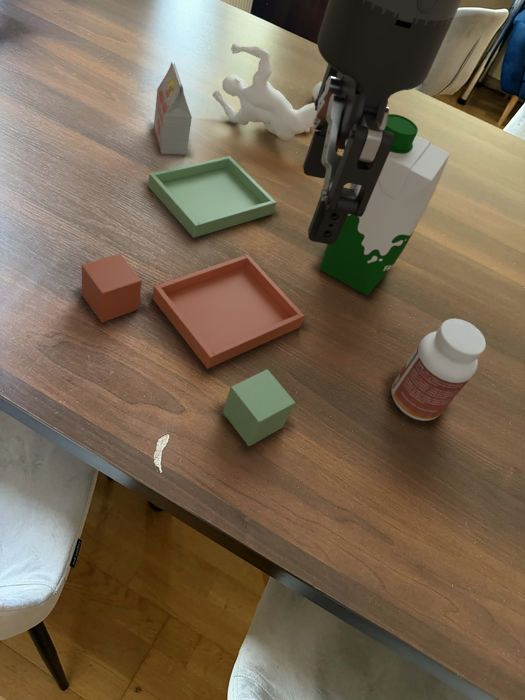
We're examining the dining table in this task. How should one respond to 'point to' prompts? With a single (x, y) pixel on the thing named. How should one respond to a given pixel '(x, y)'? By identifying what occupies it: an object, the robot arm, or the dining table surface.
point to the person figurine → (264, 100)
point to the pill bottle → (438, 369)
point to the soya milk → (387, 210)
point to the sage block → (258, 407)
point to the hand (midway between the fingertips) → (317, 205)
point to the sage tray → (211, 195)
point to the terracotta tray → (227, 309)
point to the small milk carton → (172, 115)
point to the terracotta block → (111, 287)
